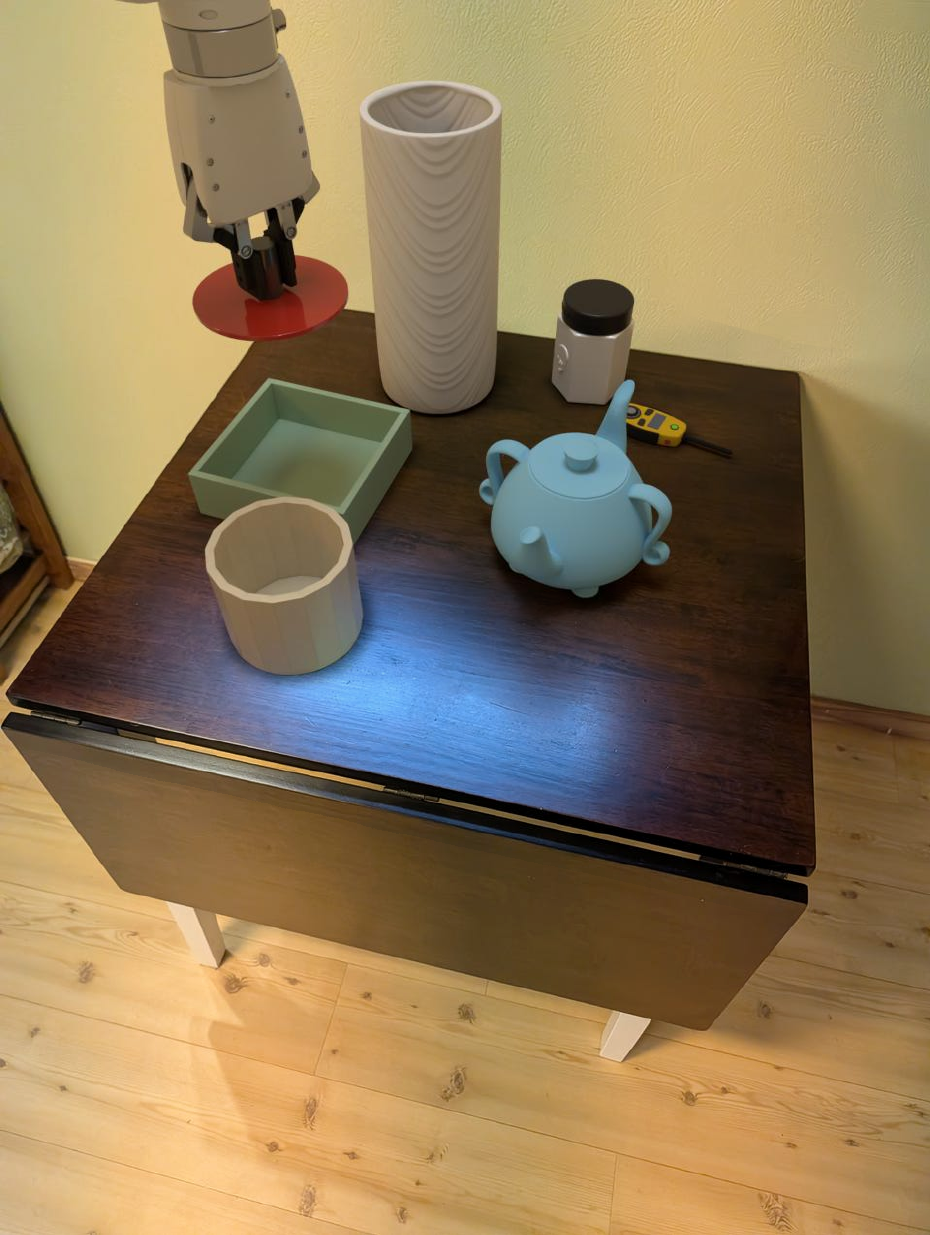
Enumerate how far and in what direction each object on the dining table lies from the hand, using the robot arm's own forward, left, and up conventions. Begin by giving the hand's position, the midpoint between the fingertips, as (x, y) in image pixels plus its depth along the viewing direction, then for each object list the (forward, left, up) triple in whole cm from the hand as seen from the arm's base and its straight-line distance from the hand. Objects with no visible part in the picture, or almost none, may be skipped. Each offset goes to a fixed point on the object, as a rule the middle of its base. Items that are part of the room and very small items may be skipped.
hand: (269, 285), depth 74 cm
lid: (0, 0, -1) cm, 1 cm away
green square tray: (0, +2, -25) cm, 25 cm away
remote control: (+42, -1, -25) cm, 49 cm away
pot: (-4, -18, -25) cm, 30 cm away
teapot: (+24, -16, -25) cm, 38 cm away
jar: (+36, +11, -25) cm, 46 cm away
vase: (+18, +16, -25) cm, 35 cm away
